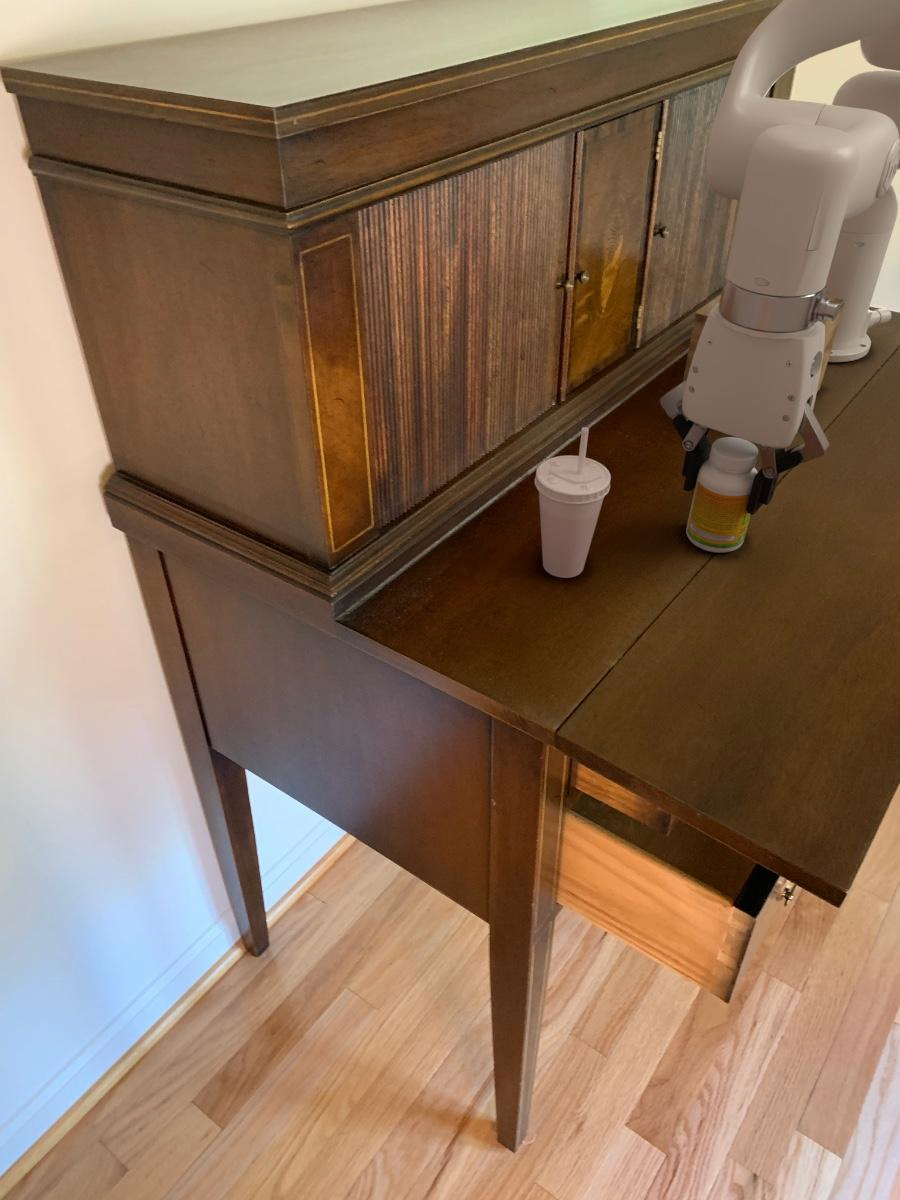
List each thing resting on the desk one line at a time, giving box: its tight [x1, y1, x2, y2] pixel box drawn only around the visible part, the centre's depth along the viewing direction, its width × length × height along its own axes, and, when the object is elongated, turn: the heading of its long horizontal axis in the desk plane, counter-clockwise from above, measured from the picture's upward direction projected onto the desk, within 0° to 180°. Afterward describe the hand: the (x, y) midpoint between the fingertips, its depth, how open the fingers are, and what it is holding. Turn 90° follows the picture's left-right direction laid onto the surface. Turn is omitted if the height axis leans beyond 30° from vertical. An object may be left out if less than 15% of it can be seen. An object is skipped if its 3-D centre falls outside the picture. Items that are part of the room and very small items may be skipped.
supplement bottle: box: [685, 436, 759, 554], centre depth 84 cm, size 5×5×10 cm
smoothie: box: [534, 426, 612, 579], centre depth 79 cm, size 6×6×14 cm
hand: (724, 494), depth 84 cm, fingers closed on supplement bottle, 5 cm apart
